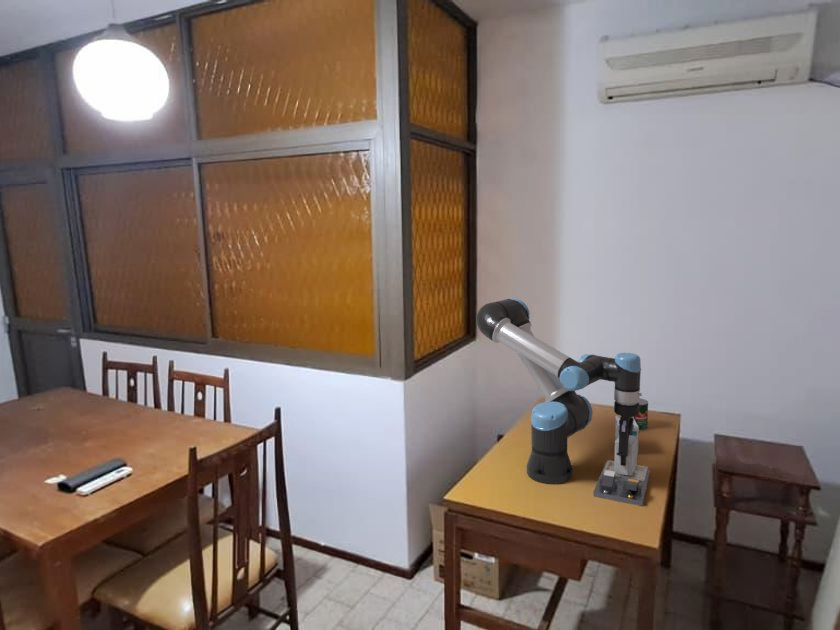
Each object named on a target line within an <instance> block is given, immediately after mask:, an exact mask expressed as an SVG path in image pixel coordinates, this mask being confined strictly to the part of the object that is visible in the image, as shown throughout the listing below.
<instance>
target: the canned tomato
mask: <svg viewBox="0 0 840 630" xmlns="http://www.w3.org/2000/svg"><path fill="white" fill-rule="evenodd" d="M638 403H639V404H640V405H639V414H638V415H637V416H634V419H635V421H636V423H637V425H638V426H639V432H641V431H642V430H644V431H646V430H647V429H648V428H649V427H648V423H649V422H648V420H649V419H648V417H649V401H648V400H647V399H646V398H645V399H644V398H640V399H639V402H638Z"/></svg>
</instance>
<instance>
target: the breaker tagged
mask: <svg viewBox="0 0 840 630" xmlns="http://www.w3.org/2000/svg"><path fill="white" fill-rule="evenodd" d="M638 487H639V480H633V479H628V481H627V483H626V489H629V490H634V491H637V489H638Z"/></svg>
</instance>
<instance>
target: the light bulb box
mask: <svg viewBox="0 0 840 630" xmlns="http://www.w3.org/2000/svg"><path fill="white" fill-rule="evenodd" d="M614 417H615V418H614V420H615V423H614V424H615V425H614V427H615V428H614V429H615V431H614V432H615V435H614V438H615V439H614V442H615V441H616V439H617V438H618V436H619V419H620V417H621V416H620V415H615V416H614ZM633 418H634V417H633ZM639 432H640V431H639V426H638V425H637V423H636V421H635V419H634V421H633V436H638V439H640V437H639ZM638 455H639V441H638V442H637V456H638Z"/></svg>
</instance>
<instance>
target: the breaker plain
mask: <svg viewBox="0 0 840 630" xmlns="http://www.w3.org/2000/svg"><path fill="white" fill-rule="evenodd" d="M614 480H615V471H609V470H605V473H604V477H603V481H602V485H601V487H602V489H603V490H608V491H612V488H613V484H614Z"/></svg>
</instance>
